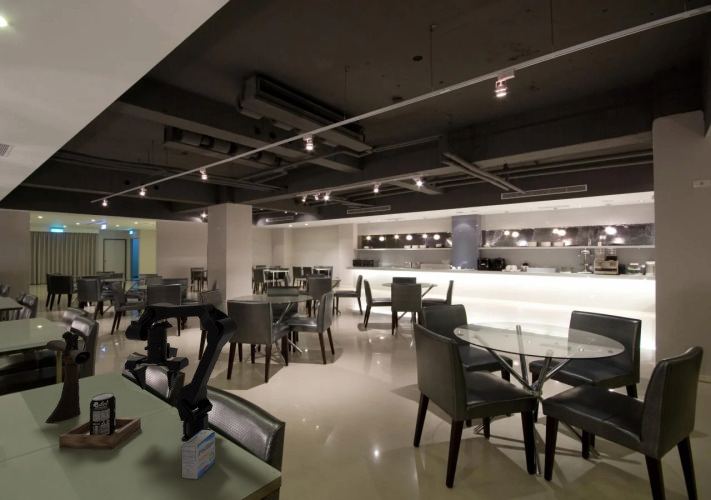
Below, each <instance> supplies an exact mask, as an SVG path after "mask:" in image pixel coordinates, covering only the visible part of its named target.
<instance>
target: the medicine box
mask: <svg viewBox="0 0 711 500" xmlns="http://www.w3.org/2000/svg"><path fill="white" fill-rule="evenodd" d="M181 455H182V458H181V461H182V462H181V463H182V464H181V466H182V467H181V468H182V469H181V470H182V471H181V473H182V474H181V475H182V476H181V477H182V478H184V479H190V480H199V479H200V477H202V476H203V475H204V473H206V471H207V470H209V468H211V466H213V464H215V462H216V431H214V430H211V431H209V430H201V431H200V432H198V433H197V434H196V435H195V436H193V437H192V438H191V439H189V440H186V441H185V442H184V443H182V445H181Z"/></svg>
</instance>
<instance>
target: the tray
mask: <svg viewBox="0 0 711 500" xmlns="http://www.w3.org/2000/svg"><path fill="white" fill-rule="evenodd" d="M141 425H142V423H141V417H123V416H122V417H121V416H119V417H117V416H116V429H115V431H114V432H113V433H112V434H111V435H90V418H88V419H87V420H85V421H84V422H82V423H80V424H78V425H76V426H75V427H73V428H71V429H70V430H68V431H66V432H63V433H62V434H60V435H59V438H58V439H59V441H58V442H59V443H58V445H59V448H60V449H79V450H80V449H81V450H82V449H84V450H107V451H108V450H113V449H115V448H116V447H118V446H119V445H120V444H122V442H124V441H126V440H127V439H128V438H130V437H131V436H133V435H134V434H135V433H137V432H138V431H139V430H141V429H142V428H141Z"/></svg>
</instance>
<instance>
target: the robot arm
mask: <svg viewBox="0 0 711 500" xmlns="http://www.w3.org/2000/svg"><path fill="white" fill-rule="evenodd" d="M196 317H197V318H198V319H199V320H200V323H201V326H202V328H203V329H204V330H205V331H206V335H205V338H206V346H205V349H204V351H203V353H202V355H201V358H200V361H199V362H198V365H197V367H196V369H195V372H194V374H193V377H192V379H191V381H190V382H189V383H187V384H185V385H183V386H181V387H180V389H179V392H178V395H177V396H176V397H175V400H176V402H175V406H176V409H177V413H178V416H179V419H180V422H182V435H183V436H182V437H181V438H180V439H181V441H188V440H189V439H191V438H192V437H193V436H195V435H196V434H197V433H198V432H200V431H201V430H209V431H212V429H211V428H209V412H211V411H212V410H213V407H214V405H213V403H212V401H210V399H209V398H208V397H207V396H208V388H207V386H208V383H209V380H210V378H211V375H212V373H213V371H214V369H215V366H216V364H217V362H218V360H219V357H220V355H221V353H222V352H223V351H222V350H223V348H224V347H225V346H226V344H228V343H229V341H230V340H231V339H232V338H233V336H234V335H235V333H236V332H237V329H238V325H237V323H236V322H235V320H234V319H233V318H232V317H230V316H229V315H228V314H227V313H225V312H224V311H222V310H220V309H218V308H217V307H216V306H215V305H214V304H213V303H211V302H205V303H193V304H192V303H191V304H179V305H177V304H174V303H170V302H159V303H153V304H148V305H146V306H145V307H144V310H143V313H142V314H141V315H140V317H138V318H137V319H136V318H135V319H132V320H130V324H128V326H127V328H126V330H125V332H124V335H125V338H126V339H127V340H128V341H138V342H146V346H144V351H146V356H134V357H131V358H129V359H126V361H125V363H124V371H128V373H130V374H131V376H133V378H134V379H135V380H136V382H137V384H138V385H139V387H140V389H141V390H146V385H147V374H146V373H147V369H148V367H166V368H167V369H168V370H167V371H166V379H167V387H168V390H169V391H172V390H173V388H174V385H175V382H176V379H177V377H178V375H179V373H180V371H182V370H184V369H185V368H186V367H188V366H189V365H190V360H189V358H188V356H178V351H179V348H177V347H173V346H172V347H171V343H170V342H168V329H172V328H173V327H174V326H173V324H171V322H169V321H168V319H173V318H175V319H176V318H196Z"/></svg>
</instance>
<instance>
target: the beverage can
mask: <svg viewBox="0 0 711 500" xmlns="http://www.w3.org/2000/svg"><path fill="white" fill-rule="evenodd" d="M116 399H117V398H116V396H115V393H114V392H110V391H108V392H102V393H98V394H95V395H93V396H92V397H91V401H90V402H89V419H90V435H111V434H112V433H113V432H114V431H115V429H116V417H117V416H116V415H117V413H116V411H117V409H116V408H117V406H116V403H117V401H116Z"/></svg>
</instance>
